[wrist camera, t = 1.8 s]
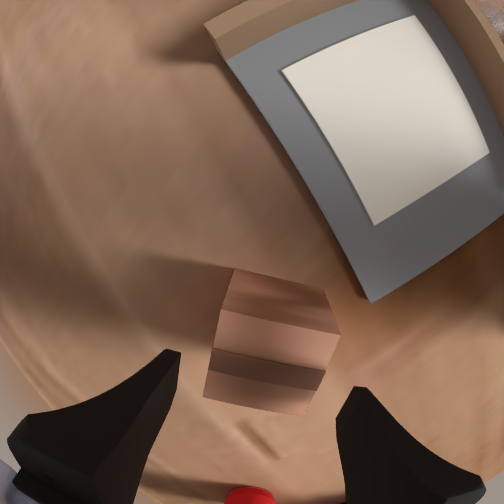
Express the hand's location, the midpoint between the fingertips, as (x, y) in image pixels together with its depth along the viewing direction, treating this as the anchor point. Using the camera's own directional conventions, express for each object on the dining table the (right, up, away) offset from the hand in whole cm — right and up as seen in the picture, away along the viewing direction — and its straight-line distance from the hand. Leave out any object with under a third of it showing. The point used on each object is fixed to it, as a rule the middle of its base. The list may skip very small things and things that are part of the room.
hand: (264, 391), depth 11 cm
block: (0, +2, +6) cm, 6 cm away
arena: (+8, +13, +2) cm, 15 cm away
